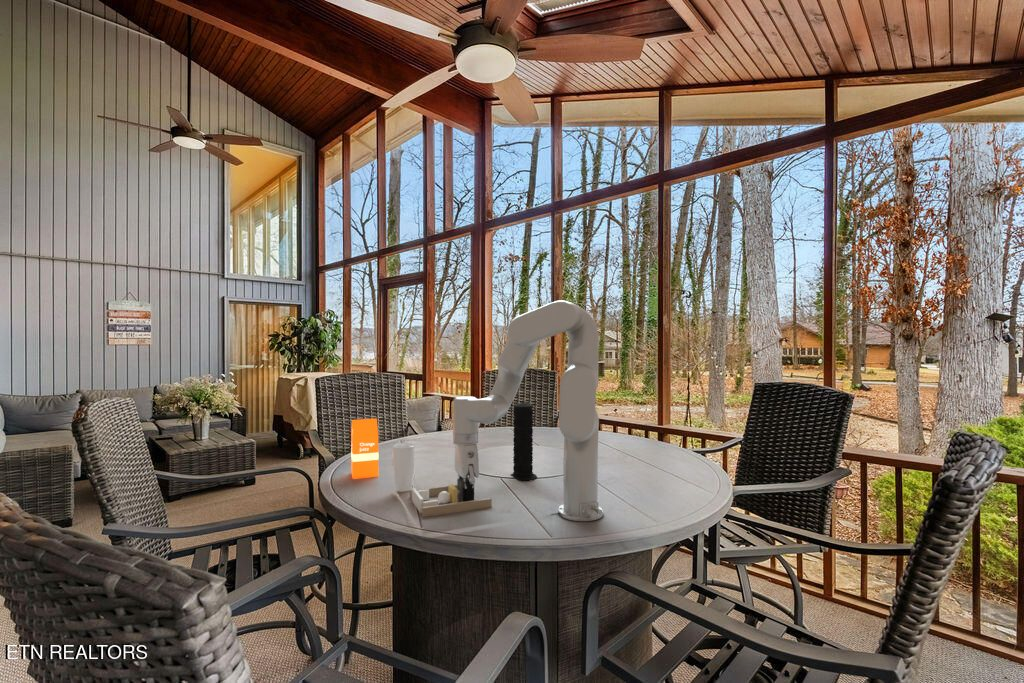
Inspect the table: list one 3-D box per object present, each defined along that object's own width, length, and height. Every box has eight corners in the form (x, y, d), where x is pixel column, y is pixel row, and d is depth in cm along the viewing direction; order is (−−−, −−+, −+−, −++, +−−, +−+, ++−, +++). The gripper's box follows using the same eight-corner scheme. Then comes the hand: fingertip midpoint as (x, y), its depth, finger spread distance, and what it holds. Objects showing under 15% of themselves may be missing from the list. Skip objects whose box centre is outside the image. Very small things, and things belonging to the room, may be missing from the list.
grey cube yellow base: (474, 501, 150) (474, 481, 150) (453, 504, 147) (453, 484, 147) (469, 496, 154) (469, 477, 154) (448, 499, 152) (448, 479, 152)
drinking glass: (393, 496, 158) (393, 448, 158) (392, 489, 164) (392, 443, 164) (415, 494, 160) (415, 447, 159) (413, 487, 166) (413, 442, 166)
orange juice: (378, 476, 179) (378, 420, 179) (352, 479, 176) (352, 421, 176) (376, 470, 187) (375, 416, 186) (351, 473, 183) (350, 418, 183)
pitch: (491, 510, 146) (491, 498, 146) (422, 520, 138) (422, 508, 138) (472, 492, 161) (472, 482, 161) (409, 501, 153) (409, 490, 153)
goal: (438, 511, 142) (438, 497, 142) (420, 513, 140) (420, 499, 140) (428, 499, 153) (428, 486, 153) (411, 501, 151) (411, 488, 151)
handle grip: (536, 481, 173) (538, 473, 183) (536, 404, 173) (538, 400, 183) (507, 481, 174) (510, 472, 184) (507, 404, 174) (510, 400, 184)
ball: (454, 498, 148) (446, 490, 147) (445, 508, 147) (437, 499, 146) (450, 495, 151) (443, 487, 150) (442, 504, 150) (434, 496, 149)
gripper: (487, 442, 145) (487, 506, 145) (469, 431, 160) (469, 489, 161) (461, 444, 142) (461, 509, 142) (445, 433, 157) (446, 492, 158)
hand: (465, 498), depth 151 cm, fingers closed on grey cube yellow base, 4 cm apart
